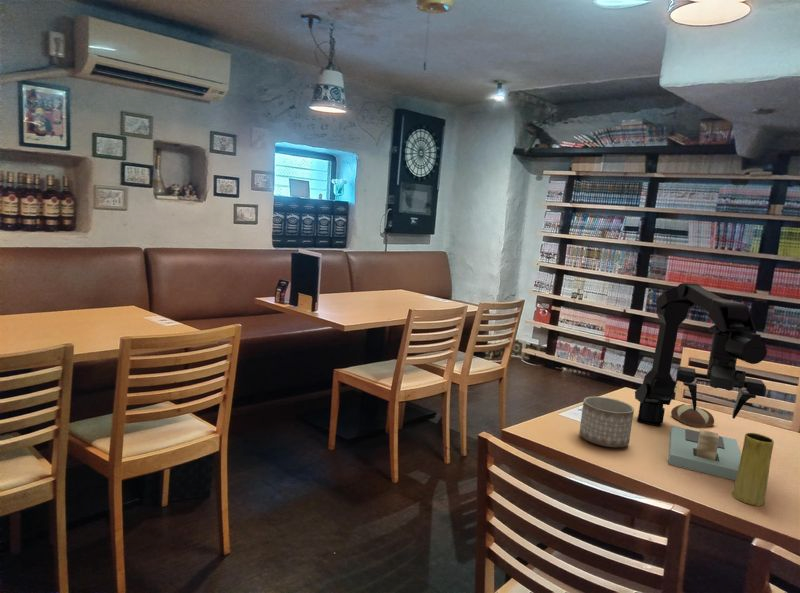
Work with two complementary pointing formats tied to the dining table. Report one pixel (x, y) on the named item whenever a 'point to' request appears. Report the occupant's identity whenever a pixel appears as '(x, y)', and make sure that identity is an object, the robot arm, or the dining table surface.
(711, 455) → the maple block
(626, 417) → the planter
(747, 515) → the dining table surface
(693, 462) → the pocket board
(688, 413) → the bread
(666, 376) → the robot arm
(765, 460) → the vase
